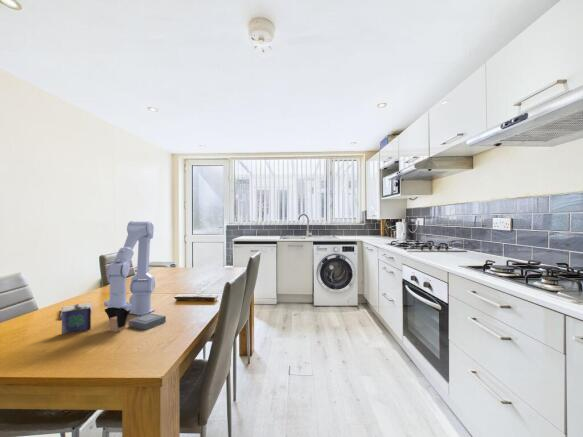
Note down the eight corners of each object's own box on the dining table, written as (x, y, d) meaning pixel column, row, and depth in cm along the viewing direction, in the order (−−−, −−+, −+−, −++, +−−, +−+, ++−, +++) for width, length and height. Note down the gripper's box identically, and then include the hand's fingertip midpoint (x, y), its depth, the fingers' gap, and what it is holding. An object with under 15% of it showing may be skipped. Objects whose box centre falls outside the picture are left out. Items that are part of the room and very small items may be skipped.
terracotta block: (109, 330, 111) (109, 318, 112) (119, 327, 115) (119, 315, 115) (116, 332, 110) (116, 319, 110) (125, 328, 114) (125, 316, 114)
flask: (60, 335, 107) (61, 307, 107) (62, 332, 109) (62, 305, 110) (90, 330, 112) (90, 303, 112) (91, 328, 114) (91, 301, 114)
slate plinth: (128, 326, 116) (128, 319, 116) (149, 318, 125) (149, 312, 125) (145, 330, 112) (145, 323, 112) (165, 321, 121) (165, 315, 121)
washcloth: (60, 321, 123) (60, 314, 123) (60, 311, 137) (60, 305, 137) (93, 315, 131) (93, 309, 131) (90, 306, 144) (90, 300, 144)
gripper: (96, 292, 112) (96, 326, 112) (120, 296, 106) (119, 332, 106) (113, 288, 118) (113, 320, 118) (137, 292, 113) (136, 326, 112)
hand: (117, 325), depth 113 cm, fingers open, 4 cm apart
